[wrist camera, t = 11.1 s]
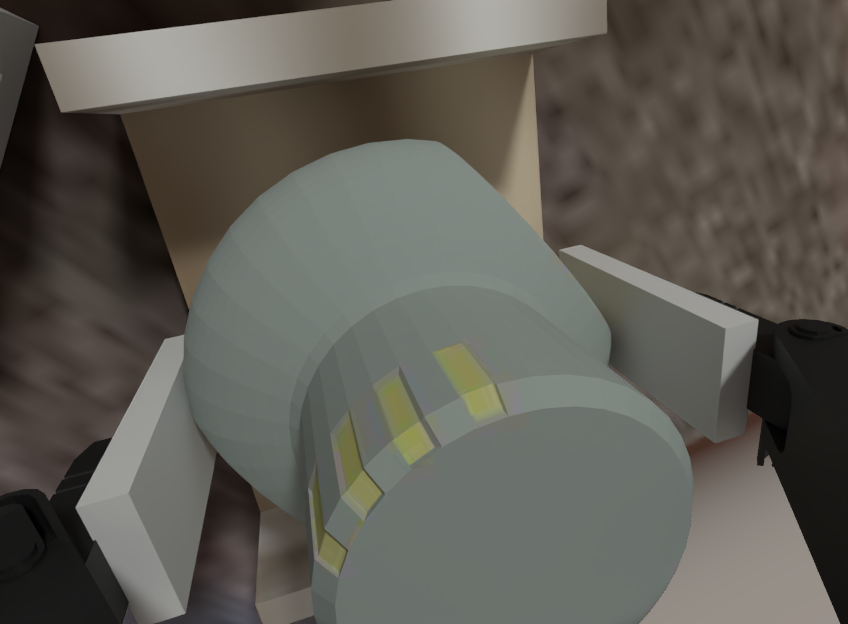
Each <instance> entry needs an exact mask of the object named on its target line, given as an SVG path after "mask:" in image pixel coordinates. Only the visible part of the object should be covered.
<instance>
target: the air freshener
mask: <svg viewBox="0 0 848 624" xmlns="http://www.w3.org/2000/svg"><path fill="white" fill-rule="evenodd" d="M610 352H611V331H610V328H609V326H608V324H607V322H606V321H605V319H604V317H603V316H602V314H601V313H600V311H599V309H598V308H597V307H596V305H595V304H594V302H593V301H592V300H591V298H590V297H589V296H588V294H587V293H586V291H585V290H584V289H583V287H582V286H581V285H580V284H579V282H578V281H577V280H576V279H575V277H574V276H573V275H572V274H571V272H570V271H569V270H568V269H567V267H566V266H565V265H564V264H563V263H562V261H561V260H560V259H559V258H558V257H557V256H556V254H555V253H554V252H553V251H552V250H551V248H550V247H549V246H548V245H547V244H546V243H545V242H544V241H543V239H542V238H541V237H540V236H539V235H538V234H537V233H536V232H535V230H534V229H533V228H532V227H531V226H530V225H529V224H528V223H527V222H526V221H525V220H524V219H523V217H522V216H521V215H520V214H519V213H518V212H517V211H516V210H515V209H514V208H513V207H512V206H511V205H510V204H509V203H508V202H507V201H506V200H505V199H504V198H503V197H502V196H501V194H500V193H499V192H497V191H496V190H495V189H494V188H493V187H492V186H491V185H490V184H489V183H488V182H487V181H486V180H485V179H484V178H483V177H482V176H481V175H480V174H479V173H478V172H477V171H475V170H474V169H473V168H472V167H471V166H470V165H469V164H468V163H467V162H466V161H464V160H463V159H462V158H461V157H460V156H459V155H457V154H456V153H455V152H453V151H452V150H451V149H449V148H448V147H446V146H445V145H443V144H442V143H439V142H437V141H429V140H415V139H402V140H392V141H382V142H373V143H366V144H363V145H359V146H356V147H352V148H349V149H345V150H342V151H338V152H335V153H331V154H328V155H326V156H324V157H322V158H320V159H318V160H316V161H314V162H312V163H310V164H308V165H306V166H304V167H302V168H300V169H298V170H296V171H294V172H292V173H290V174H289V175H288V176H286V177H285V178H283V179H282V180H281V181H279V182H278V183H277V184H275V185H274V186H272V187H271V188H270V189H268V190H267V191H266V192H264V193H263V194H261V195H260V196H259V197H258V198H257V199H256V200H255V201H254V202H253V203H252V204H251V205H250V206H249V207H248V208H247V209H246V210H245V211H244V212H243V213H242V214H241V215H240V217H239V218H238V219H237V220H236V221H235V222H234V223H233V224H232V225H231V226H230V227H229V229H228V230H227V232H226V233H225V235H224V237H223V238H222V240H221V241H220V243H219V244H218V246H217V247H216V249H215V250H214V252H213V253H212V255H211V256H210V258H209V259H208V261H207V263H206V266H205V268H204V271H203V273H202V275H201V278H200V280H199V282H198V285H197V287H196V290H195V292H194V294H193V297H192V300H191V305H190V310H189V315H188V319H187V324H186V329H185V334H184V381H185V386H186V391H187V396H188V401H189V406H190V410H191V413H192V415H193V418H194V420H195V422H196V423H197V425H198V426H199V428H200V430H201V431H202V432H203V434H204V435H205V436H206V438H207V439H208V441H209V442H210V443H211V444H212V446H213V447H214V448H215V449H216V450H217V452H218V453H219V454H220V455H221V456H222V457H223V459H224V460H225V461H226V462H227V463H228V464H229V465H230V466H231V467H232V468H233V469H234V470H235V471H236V472H237V473H238V474H239V475H241V476H242V477H243V478H244V479H245V480H246V481H247V482H248V483H249V484H250V485H252V486H253V487H254V488H255V489H256V490H257V491H258V492H260V493H261V494H262V495H264V496H265V497H266V498H268V499H269V500H270V501H271V502H273V503H274V504H275V505H277V506H278V507H279V508H281V509H282V510H283V511H285V512H286V513H288V514H290V515H291V516H293V517H294V518H296V519H297V520H299V521H300V522H302V523H303V524H305V525H306V528H307V542H308V556H309V569H310V583H311V594H312V603H313V612H314V617H315V620H316V623H317V624H639V623H640V622H641V621H642V620H643V619H644V617H645V616H646V615H647V614H648V613H649V612H650V611H651V609H652V608H653V606H654V605H655V604H656V602H657V601H658V600H659V598H660V597H661V595H662V594H663V593H664V591H665V590H666V588H667V586H668V584H669V582H670V580H671V579H672V577H673V575H674V574H675V572H676V570H677V567H678V565H679V562H680V559H681V557H682V555H683V552H684V550H685V547H686V543H687V539H688V534H689V530H690V526H691V512H692V496H693V476H692V469H691V462H690V458H689V455H688V452H687V449H686V447H685V444H684V441H683V439H682V436H681V435H680V433H679V432H678V430H677V429H676V427H675V426H674V424H673V423H672V421H671V420H670V418H669V417H668V416H667V415H666V414H665V413H664V412H663V411H661V410H660V409H659V408H658V407H657V406H656V405H655V404H654V403H653V402H652V401H651V400H649V399H648V398H647V397H646V396H644V395H643V394H642V393H640V392H639V391H638V390H637V389H635V388H634V387H633V386H632V385H630V384H629V383H628V382H626V381H625V380H624V379H623V378H621V377H620V376H619V375H617V374H616V373H615V372H614V371H612V370H611V369H610V368H609V367H608V366H609V359H610Z"/></svg>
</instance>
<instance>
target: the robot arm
mask: <svg viewBox="0 0 848 624" xmlns="http://www.w3.org/2000/svg"><path fill="white" fill-rule="evenodd" d="M559 259H560V260H561V261H562V263H563V264H564V265H565V266H566V267H567V269H568V270H569V271H570V272H571V274H572V275H573V276H574V277H575V279H576V280H577V281H578V282H579V284H580V285H581V286H582V287H583V289H584V290H585V291H586V293H587V294H588V296H589V297H590V298H591V300H592V301H593V302H594V304H595V305H596V307H597V308H598V309H599V311H600V313H601V314H602V316H603V317H604V319H605V321H606V322H607V324H608V326H609V328H610V331H611V352H610V359H609V364H610V365H611V366H613V367H614V368H615V369H617V370H618V371H619V372H621V373H622V374H623V375H625V376H626V377H627V378H629V379H630V380H631V381H633V382H634V383H635V384H637V385H638V386H639V387H641V388H642V389H643V390H645V391H646V392H647V393H649V394H650V395H651V396H653V397H654V398H655V399H657V400H658V401H659V402H661V403H662V404H663V405H665V406H666V407H667V408H669V409H670V410H671V411H673V412H674V413H675V414H677V415H678V416H679V417H681V418H682V419H683V420H685V421H686V422H687V423H689V424H690V425H691V426H693V427H694V428H695V429H697V430H698V431H699V432H701V433H702V434H703V435H705V436H706V437H707V438H709V439H710V440H711V441H713V442H714V443H718V442H721V441H724V440H727V439H730V438H733V437H737V436H739V435H743V434H745V429H746V421H747V413H748V409H749V410H750V411H752V412H753V413H755V414H757V415H758V416H760V417H761V418H762V426H761V434H760V441H759V449H758V456H757V465H760V466H763V465H764V458H766V457H767V456H768V455H769V456H770V458H771V461H772V466H773V467H774V468H775V470H776V473H777V475H778V477H779V479H780V482H781V484H782V486H783V489H784V491H785V494H786V496H787V498H788V501H789V503H790V506H791V508H792V510H793V513H794V515H795V517H796V520H797V522H798V524H799V527H800V529H801V532H802V534H803V536H804V539H805V541H806V544H807V546H808V548H809V551H810V553H811V555H812V558H813V560H814V562H815V565H816V567H817V570H818V572H819V574H820V576H821V579H822V581H823V584H824V586H825V588H826V591H827V593H828V595H829V598H830V600H831V603H832V605H833V607H834V610H835V612H836V614H837V617H838V619H839V622H840V624H848V329H846V328H845V327H842V326H840V325H836V324H834V323H829V322H824V321H819V320H807V319H799V320H788V321H785V322H782V323H779V324H776V323H774V322H771V321H769V320H766V319H764V318H762V317H759V316H757V315H754V314H752V313H750V312H747V311H745V310H742V309H740V308H739V309H737V308H736V307H735V306H733V305H730V304H728V303H723V301H721V300H718V299H716V298H713V297H711V296H709V295H706V294H702V293H697V292H692V291H689V290H687V289H685V288H682V287H680V286H678V285H675V284H673V283H670V282H668V281H666V280H663V279H661V278H659V277H656V276H654V275H651V274H649V273H647V272H644V271H642V270H640V269H637V268H635V267H632V266H630V265H628V264H625V263H623V262H621V261H618V260H616V259H613V258H611V257H609V256H606V255H604V254H602V253H599V252H597V251H594V250H592V249H590V248H587V247H585V246H583V245H578V246H574V247H569V248H565V249H560V250H559ZM216 454H217V450H216V449H215V448H214V447H213V446H212V444H211V443H210V442H209V441H208V439H207V438H206V436H205V435H204V434H203V432H202V431H201V430H200V428H199V426H198V425H197V423H196V422H195V420H194V418H193V415H192V413H191V410H190V406H189V401H188V396H187V391H186V386H185V381H184V335H181V336H177V337H172V338H168V339H165V340H164V342H163V344H162V346H161V347H160V349H159V351H158V353H157V355H156V357H155V359H154V361H153V363H152V364H151V366H150V368H149V370H148V372H147V374H146V376H145V378H144V379H143V381H142V383H141V385H140V387H139V389H138V391H137V393H136V395H135V396H134V398H133V400H132V402H131V404H130V406H129V408H128V410H127V411H126V413H125V415H124V417H123V419H122V421H121V423H120V425H119V427H118V428H117V430H116V432H115V434H114V436H113V438H109V439H105V440H101V441H97V442H94V443H93V444H91V445H90V446H89V447H88V448H87V449H86V450H85V451H84V452H83V453H81V454H80V455H79V456H78V457H77V458H76V459H75V460H74V461H73V463H72V465H71V466H70V468H69V470H68V471H67V473H66V475H65V476H64V477H65V479H64V480H62V481H61V483H60V484H59V486H58V488H57V489H56V494H53V496H52V498H51V499H50V501H49V500H48V499H47V497H46V495H45V494H44V493H43V492H41V491H39V490H38V489H23V490H19V491H15V492H11V493H7V494H4V495H2V496H0V624H122V623H123V619H124V616H125V613H126V610H127V607H129V609H130V611H131V613H132V615H133V616H134V618H135V620H136V622H137V624H155V623H158V622H161V621H164V620H168V619H171V618H174V617H177V616H180V615H183V614H186V609H187V604H188V599H189V593H190V588H191V583H192V578H193V573H194V568H195V563H196V557H197V552H198V547H199V542H200V537H201V532H202V527H203V521H204V516H205V511H206V506H207V501H208V496H209V490H210V485H211V480H212V475H213V470H214V465H215V460H216Z"/></svg>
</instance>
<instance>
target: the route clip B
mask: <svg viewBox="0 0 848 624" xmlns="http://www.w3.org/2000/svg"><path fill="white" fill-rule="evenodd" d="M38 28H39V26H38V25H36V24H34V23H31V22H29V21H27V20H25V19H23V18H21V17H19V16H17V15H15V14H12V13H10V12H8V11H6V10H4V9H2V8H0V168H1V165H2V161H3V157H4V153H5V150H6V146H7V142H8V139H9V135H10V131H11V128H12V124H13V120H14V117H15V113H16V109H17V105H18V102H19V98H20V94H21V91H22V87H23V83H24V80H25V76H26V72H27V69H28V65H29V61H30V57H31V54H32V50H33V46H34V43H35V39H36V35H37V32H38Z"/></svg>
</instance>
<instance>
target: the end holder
mask: <svg viewBox="0 0 848 624" xmlns="http://www.w3.org/2000/svg"><path fill="white" fill-rule="evenodd" d="M606 33H607V0H393V1H385V2H377V3H369V4H361V5H352V6H344V7H336V8H328V9H320V10H312V11H303V12H295V13H287V14H279V15H271V16H262V17H254V18H246V19H238V20H230V21H221V22H213V23H205V24H197V25H189V26H181V27H172V28H164V29H156V30H148V31H140V32H131V33H123V34H115V35H107V36H99V37H90V38H82V39H74V40H66V41H58V42H50V43H41V44H34V45H35V47H36V50H37V52H38V55H39V57H40V60H41V62H42V65H43V68H44V70H45V73H46V75H47V78H48V80H49V83H50V85H51V88H52V90H53V93H54V95H55V98H56V101H57V103H58V106H59V108H60V111H61V112H64V113H96V114H120V115H121V118H122V121H123V124H124V127H125V129H126V132H127V135H128V138H129V141H130V144H131V146H132V149H133V152H134V155H135V158H136V161H137V163H138V166H139V169H140V172H141V175H142V178H143V180H144V183H145V186H146V189H147V192H148V195H149V197H150V200H151V203H152V206H153V209H154V212H155V214H156V217H157V220H158V223H159V226H160V229H161V231H162V234H163V237H164V240H165V243H166V246H167V248H168V251H169V254H170V257H171V260H172V263H173V265H174V268H175V271H176V274H177V277H178V280H179V282H180V285H181V288H182V291H183V294H184V297H185V299H186V302H187V305H188V308H189V310H190V305H191V300H192V297H193V294H194V292H195V290H196V287H197V285H198V282H199V280H200V278H201V275H202V273H203V271H204V268H205V266H206V263H207V261H208V259H209V258H210V256H211V255H212V253H213V252H214V250H215V249H216V247H217V246H218V244H219V243H220V241H221V240H222V238H223V237H224V235H225V233H226V232H227V230H228V229H229V227H230V226H231V225H232V224H233V223H234V222H235V221H236V220H237V219H238V218H239V217H240V215H241V214H242V213H243V212H244V211H245V210H246V209H247V208H248V207H249V206H250V205H251V204H252V203H253V202H254V201H255V200H256V199H257V198H258V197H259V196H260V195H261V194H263V193H264V192H266V191H267V190H268V189H270V188H271V187H272V186H274V185H275V184H277V183H278V182H279V181H281V180H282V179H283V178H285V177H286V176H288V175H289V174H290V173H292V172H294V171H296V170H298V169H300V168H302V167H304V166H306V165H308V164H310V163H312V162H314V161H316V160H318V159H320V158H322V157H324V156H326V155H328V154H331V153H335V152H338V151H342V150H345V149H349V148H352V147H356V146H359V145H363V144H366V143H373V142H382V141H392V140H402V139H415V140H429V141H437V142H439V143H442V144H443V145H445V146H446V147H448V148H449V149H451V150H452V151H453V152H455V153H456V154H457V155H459V156H460V157H461V158H462V159H463V160H464V161H466V162H467V163H468V164H469V165H470V166H471V167H472V168H473V169H474V170H475V171H477V172H478V173H479V174H480V175H481V176H482V177H483V178H484V179H485V180H486V181H487V182H488V183H489V184H490V185H491V186H492V187H493V188H494V189H495V190H496V191H497V192H499V193H500V194H501V196H502V197H503V198H504V199H505V200H506V201H507V202H508V203H509V204H510V205H511V206H512V207H513V208H514V209H515V210H516V211H517V212H518V213H519V214H520V215H521V216H522V217H523V219H524V220H525V221H526V222H527V223H528V224H529V225H530V226H531V227H532V228H533V229H534V230H535V232H536V233H537V234H538V235H539V236H540V237H541V238H542V239H543V228H542V210H541V192H540V175H539V157H538V139H537V122H536V104H535V87H534V69H533V53H534V52H538V51H542V50H546V49H549V48H553V47H557V46H561V45H564V44H568V43H572V42H576V41H579V40H583V39H587V38H591V37H594V36H598V35H602V34H606ZM251 487H252V489H253V492H254V495H255V498H256V501H257V504H258V506H259V509H260V512H261V514H260V531H259V548H258V566H257V583H256V601H255V605H256V608H257V611H258V613H259V616H260V618H261V621H262V623H263V624H290V623H293V622H296V621H299V620H302V619H305V618H307V617H310V616H313V615H314V612H313V603H312V594H311V583H310V569H309V556H308V542H307V528H306V525H305V524H303V523H302V522H300V521H299V520H297V519H296V518H294V517H293V516H291V515H290V514H288V513H286V512H285V511H283V510H282V509H281V508H279V507H278V506H277V505H275V504H274V503H273V502H271V501H270V500H269V499H268V498H266V497H265V496H264V495H262V494H261V493H260V492H258V491H257V490H256V489H255V488H254V487H253V486H252V485H251Z"/></svg>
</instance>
